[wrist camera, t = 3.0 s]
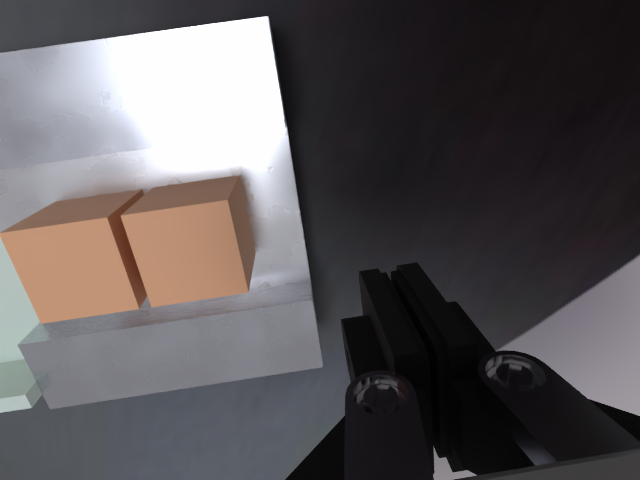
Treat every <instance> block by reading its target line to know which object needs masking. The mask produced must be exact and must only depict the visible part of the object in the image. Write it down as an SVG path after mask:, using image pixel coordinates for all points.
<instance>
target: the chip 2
mask: <svg viewBox="0 0 640 480" xmlns="http://www.w3.org/2000/svg"><path fill="white" fill-rule="evenodd" d="M120 216H121V219H122V222H123V225H124V228H125V231H126V234H127V237H128V240H129V243H130V245H131V248H132V251H133V254H134V257H135V260H136V263H137V266H138V269H139V272H140V275H141V278H142V281H143V284H144V287H145V290H146V293H147V296H148V299H149V302H150V305H151V307H157V306H163V305H170V304H177V303H183V302H190V301H197V300H203V299H210V298H217V297H223V296H230V295H237V294H243V293H249V288H250V282H251V276H252V271H253V265H254V259H255V254H256V252H255V247H254V243H253V238H252V233H251V228H250V224H249V219H248V214H247V209H246V205H245V200H244V195H243V190H242V185H241V181H240V176H239V175H236V176H229V177H222V178H215V179H208V180H201V181H194V182H187V183H181V184H174V185H167V186H160V187H153V188H152V189H151V190H150V191H148V192H147V193H146V194H145V195H144V196H143V197H141V198H140V199H139V200H138V201H137V202H136V203H134V204H133V205H132V206H131V207H130V208H129V209H127V210H126V211H125V212H124V213H123V214H122V215H120Z"/></svg>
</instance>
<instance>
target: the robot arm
mask: <svg viewBox="0 0 640 480" xmlns="http://www.w3.org/2000/svg"><path fill="white" fill-rule="evenodd" d="M359 282H360V291H361V300H362V310H363V316H358V317H352V318H345V319H341V325H342V333H343V340H344V348H345V354H346V360H347V366H348V371H349V376H350V380H351V383H350V385H349V386H348V388H347V391H346V395H345V416H344V417H343V418H342V419H341V420H340V421H339V423H338V424H337V425H336V426H335V427H334V428H333V429H332V430H331V431H330V432H329V433H328V434H327V435H326V437H325V438H324V439H323V440H322V441H321V442H320V443H319V444H318V445H317V446H316V447H315V448H314V449H313V450H312V452H311V453H310V454H309V455H308V456H307V457H306V458H305V459H304V460H303V461H302V462H301V463H300V464H299V465H298V467H297V468H296V469H295V470H294V471H293V472H292V473H291V474H290V475H289V476H288V477H287V478H286V479H285V480H434V479H433V474H434V454H433V453H434V452H433V446H434V448H435V450H436V453H437V455H438V457H439V458H443V457H446V458H447V460H448V463H449V465H450V467H451V469H452V472H458V471H464V470H469V471H470V472H472V473H474V474H476V475H477V476H473V477H466V478H461V479H455V480H640V416H637V415H635V414H632V413H629V412H625V411H622V410H620V409H617V408H614V407H611V406H608V405H605V404H601V403H599V402H595V401H593V400H589V399H587V398H586V397H585V396H584V395H582V394H581V393H580V392H579V391H578V390H576V389H575V388H574V387H573V386H572V385H570V384H569V383H568V382H567V381H565V380H564V379H563V378H562V377H561V376H560V375H558V374H557V373H556V372H555V371H554V370H552V369H551V368H550V367H549V366H547V365H546V364H545V363H544V362H542V361H540V360H539V359H537V358H536V357H533V356H531V355H528V354H525V353H521V352H517V351H497V352H496V351H495V350H494V348H493V347H492V346H491V345H490V343H489V342H488V341H487V339H486V338H485V337H484V336H483V334H482V333H481V332H480V331H479V329H478V328H477V327H476V326H475V324H474V323H473V322H472V320H471V319H470V318H469V317H468V315H467V314H466V313H465V312H464V310H463V309H462V308H461V307H460V305H459V304H458V303H457V302H446V301H445V299H444V298H443V297H442V295H441V294H440V293H439V291H438V290H437V289H436V287H435V286H434V285H433V283H432V282H431V280H430V279H429V278H428V276H427V275H426V274H425V272H424V271H423V270H422V268H421V267H420V266H419V264H418V263H411V264H404V265H398V266H397V271H391V280H390V278H389V276H388V275H387V273H386V272H385V273H380V271H379V269H372V270H365V271H359Z"/></svg>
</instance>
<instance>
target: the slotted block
mask: <svg viewBox="0 0 640 480" xmlns="http://www.w3.org/2000/svg"><path fill="white" fill-rule="evenodd" d="M236 175H239V176H240V181H241V185H242V190H243V195H244V200H245V205H246V209H247V214H248V219H249V224H250V228H251V233H252V238H253V243H254V247H255V252H256V254H255V259H254V265H253V271H252V276H251V282H250V288H249V293H243V294H237V295H230V296H223V297H217V298H210V299H203V300H197V301H190V302H183V303H177V304H170V305H163V306H157V307H151V305H150V302H149V299H148V296H147V297H146V299H145V301H144V302H143V304H142V305H141V307H140V309H137V310H130V311H124V312H117V313H110V314H104V315H97V316H90V317H84V318H77V319H70V320H64V321H57V322H50V323H44V324H41V323H39V324H38V325H37V326H36V327H35V328H34V329H33V330H32V331H31V332H30V333H29V334H28V335H27V336H26V337H25V338H24V339H23V340H22V341H21V342H20V343H19V344H18V347H19V349H20V351H21V353H22V355H23V357H24V359H25V361H26V363H27V365H28V367H29V369H30V371H31V373H32V375H33V377H34V379H35V381H36V383H37V384H38V386H39V388H40V390H41V392H42V394H43V396H44V398H45V400H46V402H47V404H48V406H49V408H50V409H55V408H61V407H68V406H74V405H81V404H87V403H94V402H100V401H106V400H113V399H119V398H126V397H132V396H139V395H145V394H152V393H158V392H165V391H171V390H178V389H184V388H191V387H197V386H204V385H210V384H217V383H223V382H230V381H236V380H243V379H249V378H256V377H262V376H269V375H275V374H281V373H288V372H294V371H301V370H307V369H314V368H320V367H323V361H322V353H321V344H320V336H319V328H318V320H317V314H316V308H315V301H314V295H313V288H312V282H311V275H310V269H309V263H308V256H307V250H306V243H305V237H304V231H303V224H302V218H301V211H300V205H299V199H298V192H297V186H296V179H295V173H294V166H293V160H292V154H291V147H290V141H289V134H288V128H287V122H286V115H285V109H284V102H283V96H282V89H281V83H280V77H279V70H278V64H277V57H276V51H275V45H274V38H273V32H272V27H271V24H270V21H269V18H268V16H266V17H259V18H252V19H244V20H237V21H230V22H222V23H215V24H208V25H201V26H193V27H186V28H179V29H172V30H164V31H157V32H150V33H143V34H135V35H128V36H121V37H113V38H106V39H99V40H92V41H84V42H77V43H70V44H63V45H55V46H48V47H41V48H34V49H26V50H19V51H12V52H4V53H0V232H2V231H4V230H5V229H7V228H9V227H11V226H12V225H14V224H16V223H18V222H20V221H21V220H23V219H25V218H27V217H29V216H30V215H32V214H34V213H36V212H38V211H39V210H41V209H43V208H45V207H47V206H48V205H50V204H52V203H54V202H56V201H63V200H70V199H77V198H84V197H91V196H98V195H105V194H111V193H118V192H125V191H132V190H139V189H142V190H143V193H144V195H145V194H146V193H147V192H148V191H150V190H151V189H152V188H153V187H160V186H167V185H174V184H181V183H187V182H194V181H201V180H208V179H215V178H222V177H229V176H236Z"/></svg>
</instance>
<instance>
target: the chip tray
mask: <svg viewBox="0 0 640 480" xmlns="http://www.w3.org/2000/svg"><path fill="white" fill-rule="evenodd" d="M39 323H40V321H39V319H38V316H37V314H36V312H35V310H34V308H33V306H32V304H31V302H30V299H29V297H28V295H27V293H26V291H25V289H24V287H23V285H22V282H21V280H20V278H19V276H18V274H17V272H16V270H15V267H14V265H13V263H12V261H11V259H10V257H9V255H8V253H7V250H6V248H5V246H4V244H3V242H2V240H1V238H0V413H1V412H8V411H14V410H21V409H27V408H32V407H33V406H34V404H35V403H36V402H37V400H38V399H39V398H40V396H41V395H42V392H41V390H40V388H39V386H38V384H37V383H36V381H35V379H34V377H33V375H32V373H31V371H30V369H29V367H28V365H27V363H26V361H25V359H24V357H23V355H22V353H21V351H20V349H19V347H18V344H19V343H20V342H21V341H22V340H23V339H24V338H25V337H26V336H27V335H28V334H29V333H30V332H31V331H32V330H33V329H34V328H35V327H36V326H37V325H38V324H39Z"/></svg>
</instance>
